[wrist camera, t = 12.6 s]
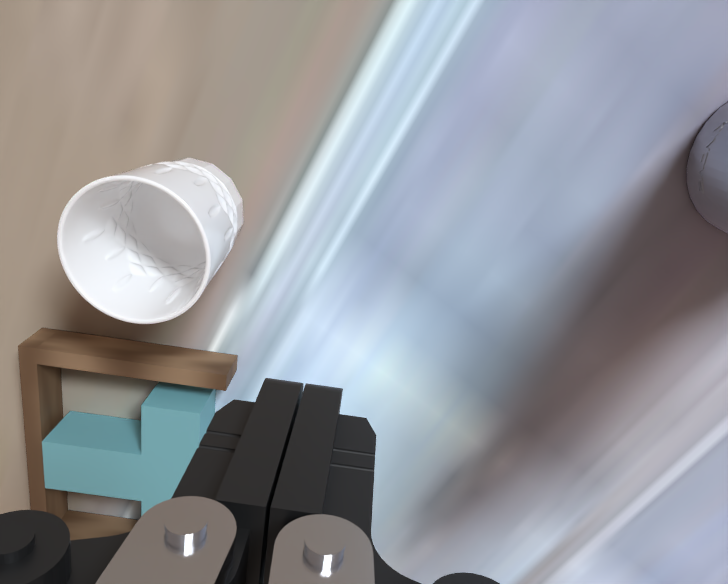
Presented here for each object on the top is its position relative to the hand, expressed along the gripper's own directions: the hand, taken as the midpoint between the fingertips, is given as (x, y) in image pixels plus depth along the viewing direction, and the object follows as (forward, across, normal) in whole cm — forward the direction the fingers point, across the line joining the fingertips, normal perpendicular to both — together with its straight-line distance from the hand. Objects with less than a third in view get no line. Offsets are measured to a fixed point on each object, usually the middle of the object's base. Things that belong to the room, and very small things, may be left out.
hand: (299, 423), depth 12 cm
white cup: (+29, +11, +4) cm, 31 cm away
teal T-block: (+29, +14, +23) cm, 40 cm away
